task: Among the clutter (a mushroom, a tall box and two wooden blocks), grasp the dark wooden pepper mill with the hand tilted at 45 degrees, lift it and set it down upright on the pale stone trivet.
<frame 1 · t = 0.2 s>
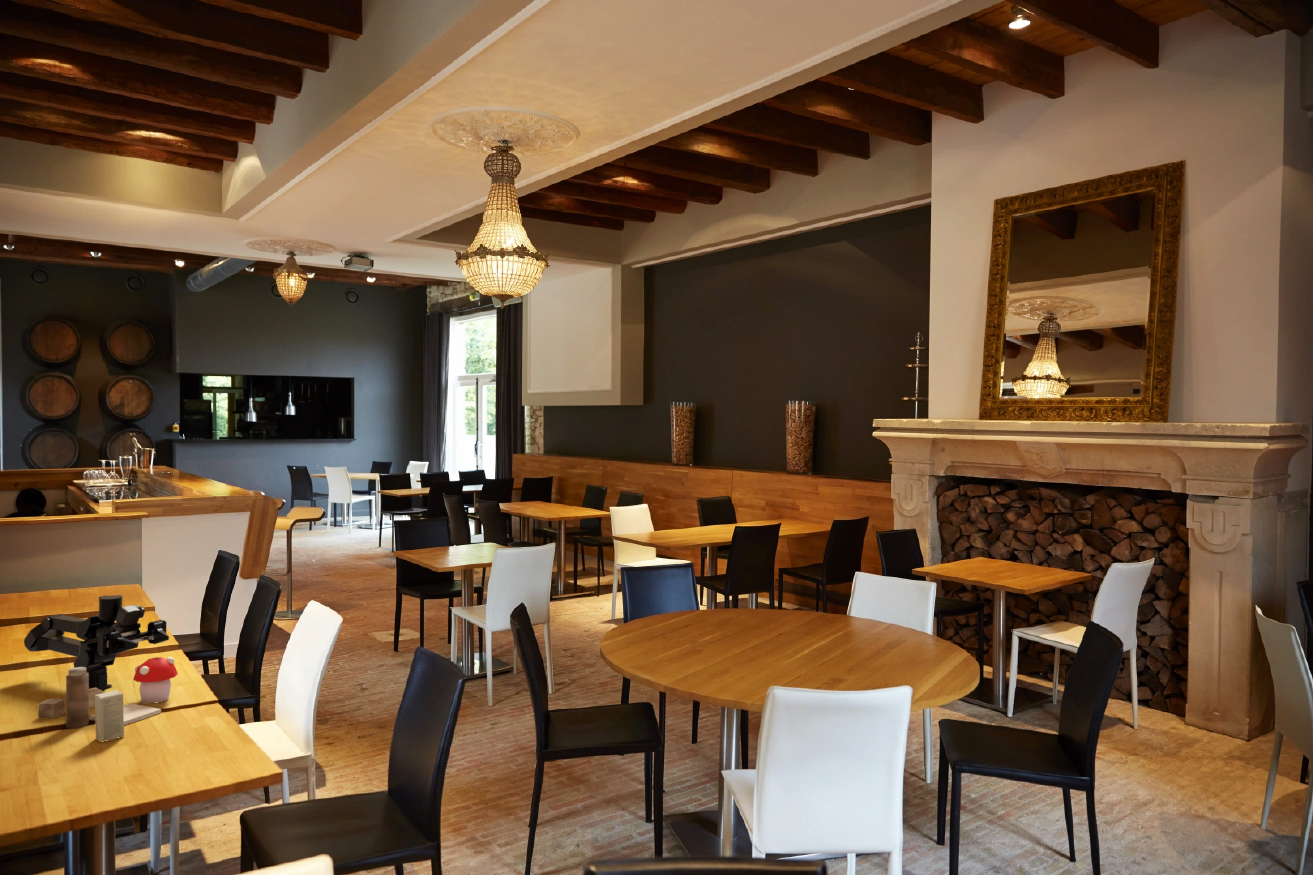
hand: (153, 641, 239), 17 cm above the table, tool horizontal, fingers open, 9 cm apart
mushroom: (155, 700, 240), on the table
box: (109, 739, 211), on the table
oak block: (91, 705, 236), on the table
pepper mill: (77, 725, 220), on the table
walnut block: (51, 716, 227), on the table
trivet: (125, 716, 227), on the table
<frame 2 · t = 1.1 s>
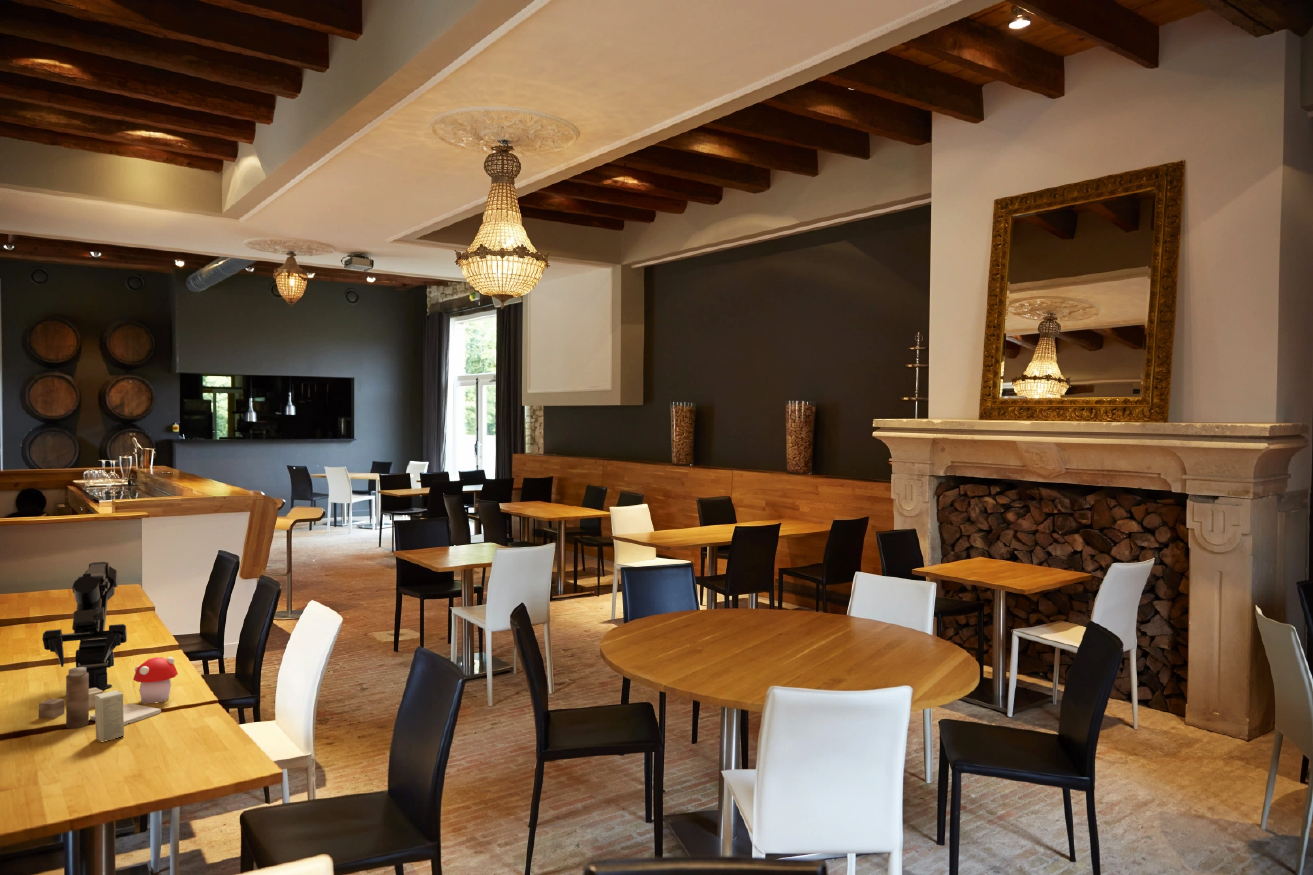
hand: (83, 663, 227), 14 cm above the table, tool tilted 45°, fingers open, 9 cm apart
nothing on the table moved.
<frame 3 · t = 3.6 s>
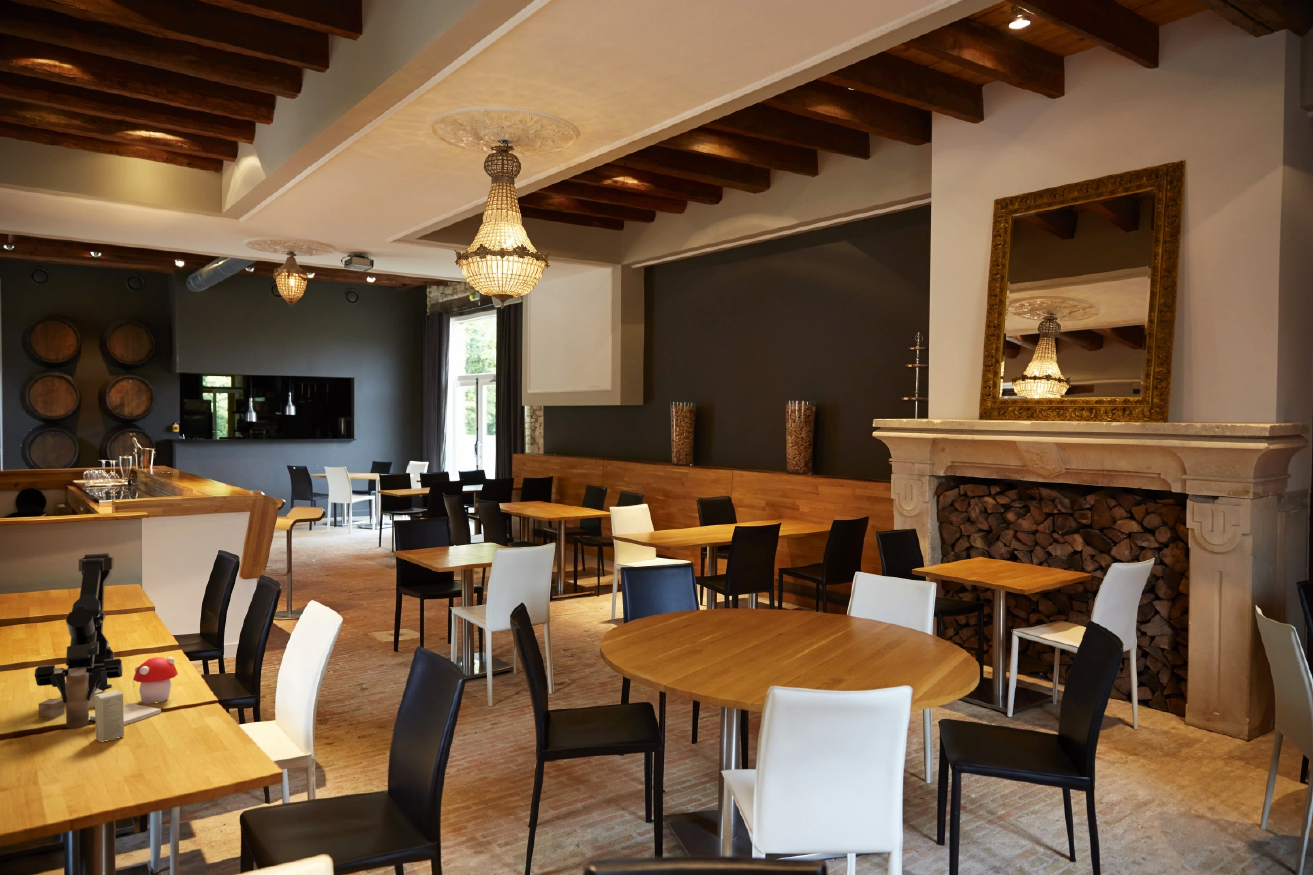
hand: (76, 701, 219), 7 cm above the table, tool tilted 45°, fingers closed on pepper mill, 5 cm apart
pepper mill: (77, 725, 220), on the table, touching gripper
everything else where it was.
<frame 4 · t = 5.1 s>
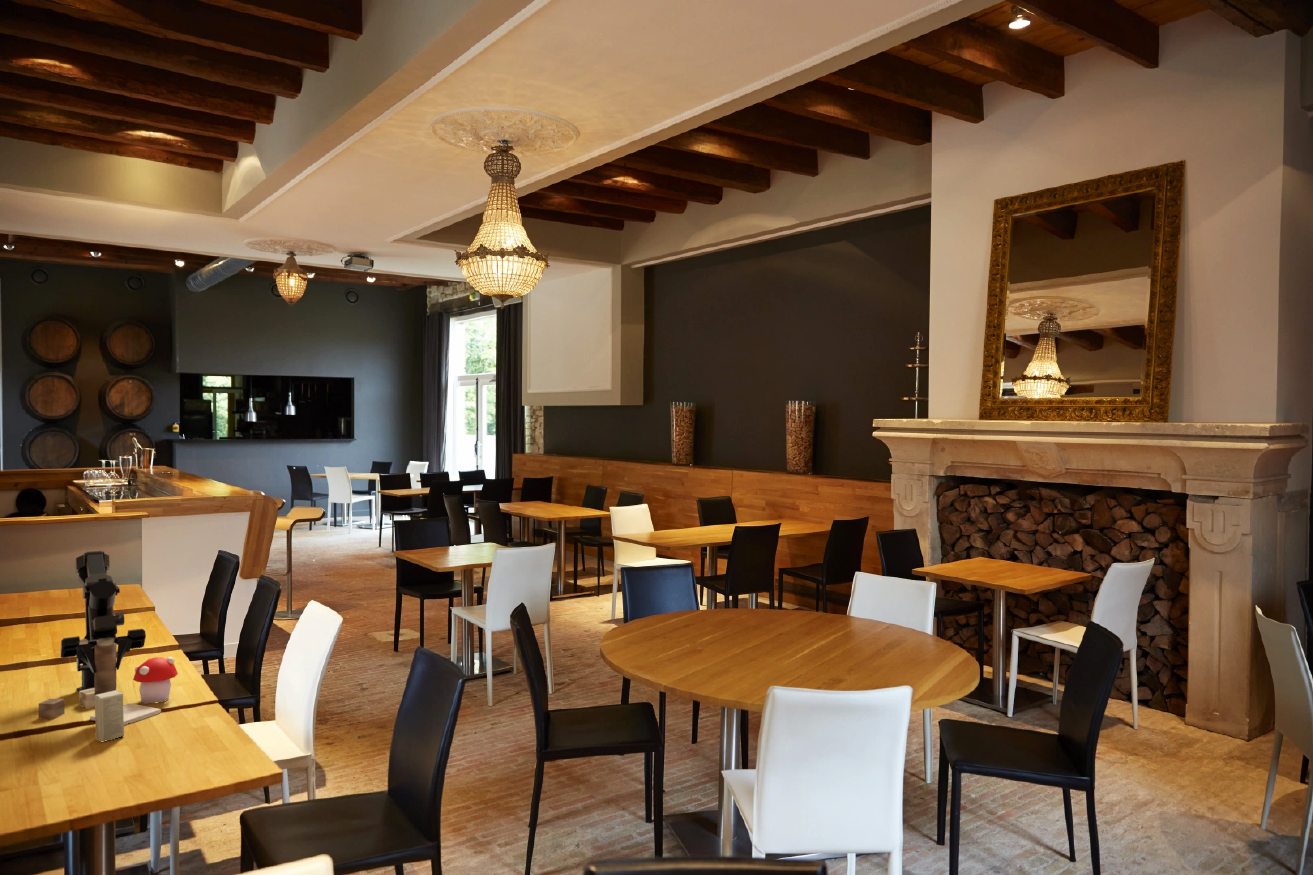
hand: (106, 670, 222), 13 cm above the table, tool tilted 45°, fingers closed on pepper mill, 5 cm apart
pepper mill: (105, 694, 224), point 7 cm above the table, touching gripper
everything else where it was.
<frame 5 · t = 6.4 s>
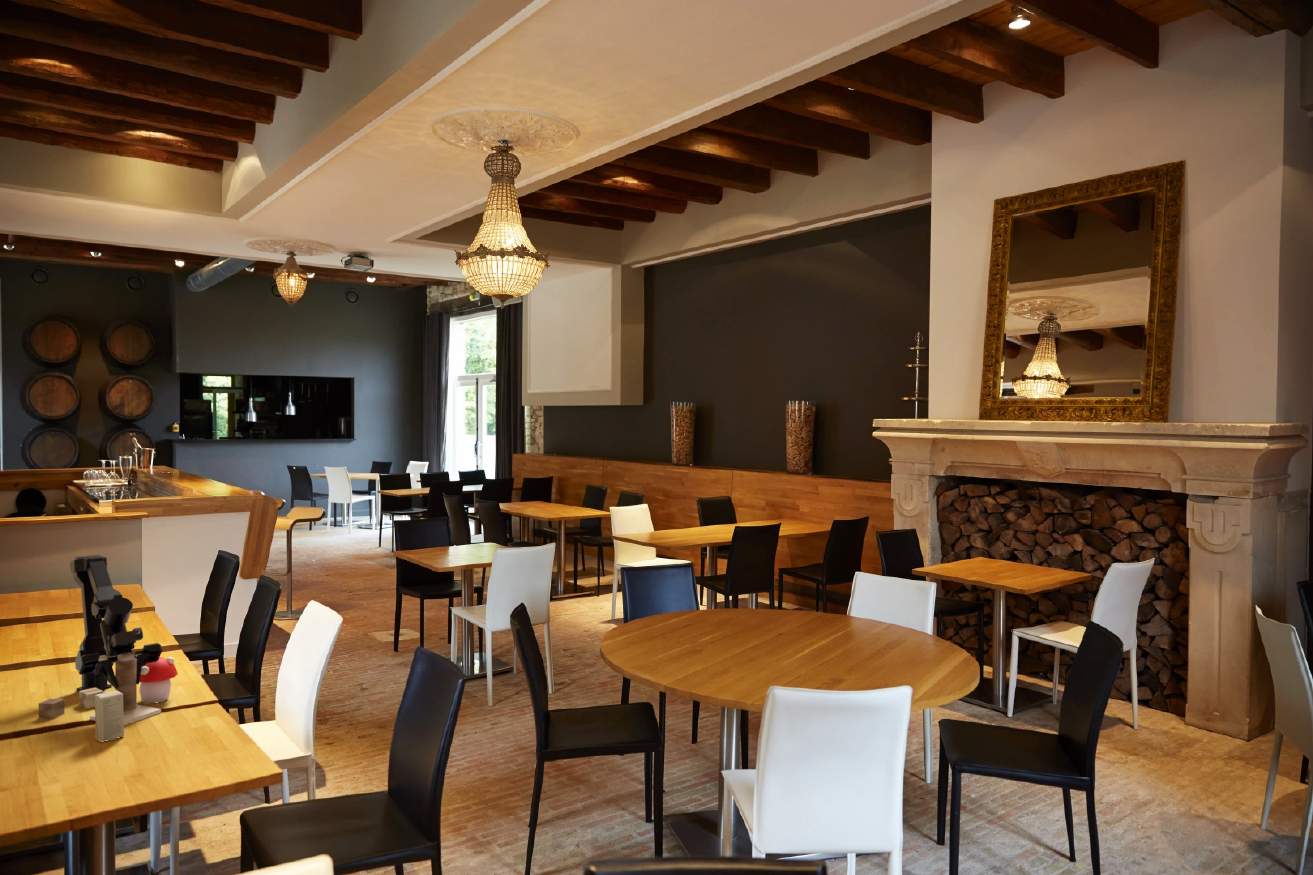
hand: (127, 685, 226), 8 cm above the table, tool tilted 45°, fingers closed on pepper mill, 5 cm apart
pepper mill: (125, 708, 227), point 2 cm above the table, touching gripper
everything else where it was.
when the fingers open (8 cm above the table, at t = 6.7 s): pepper mill stays where it is, resting on trivet.
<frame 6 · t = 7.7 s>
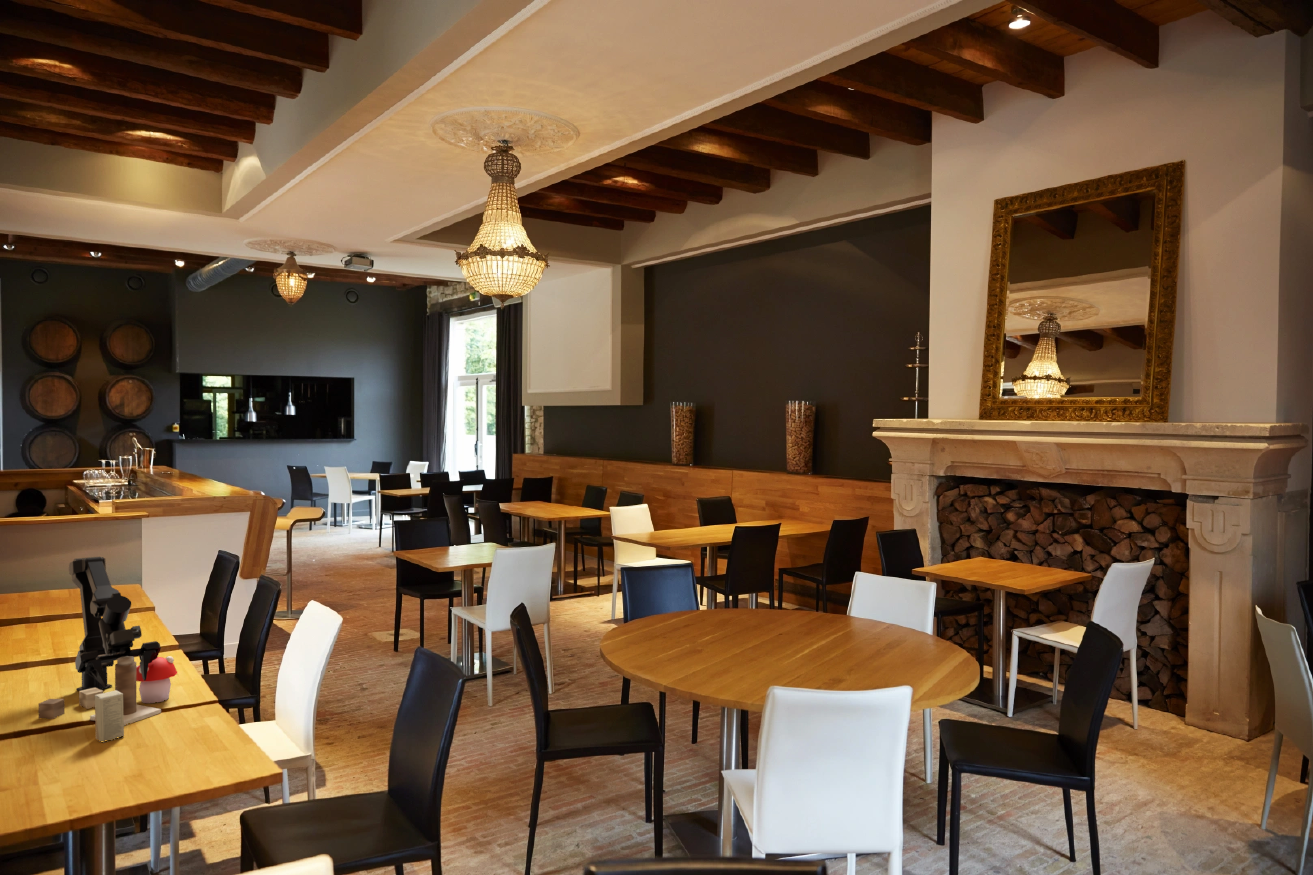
hand: (125, 683, 227), 9 cm above the table, tool tilted 45°, fingers open, 9 cm apart
mushroom: (155, 700, 240), on the table, touching gripper
pepper mill: (125, 712, 227), point 1 cm above the table, touching trivet
everything else where it was.
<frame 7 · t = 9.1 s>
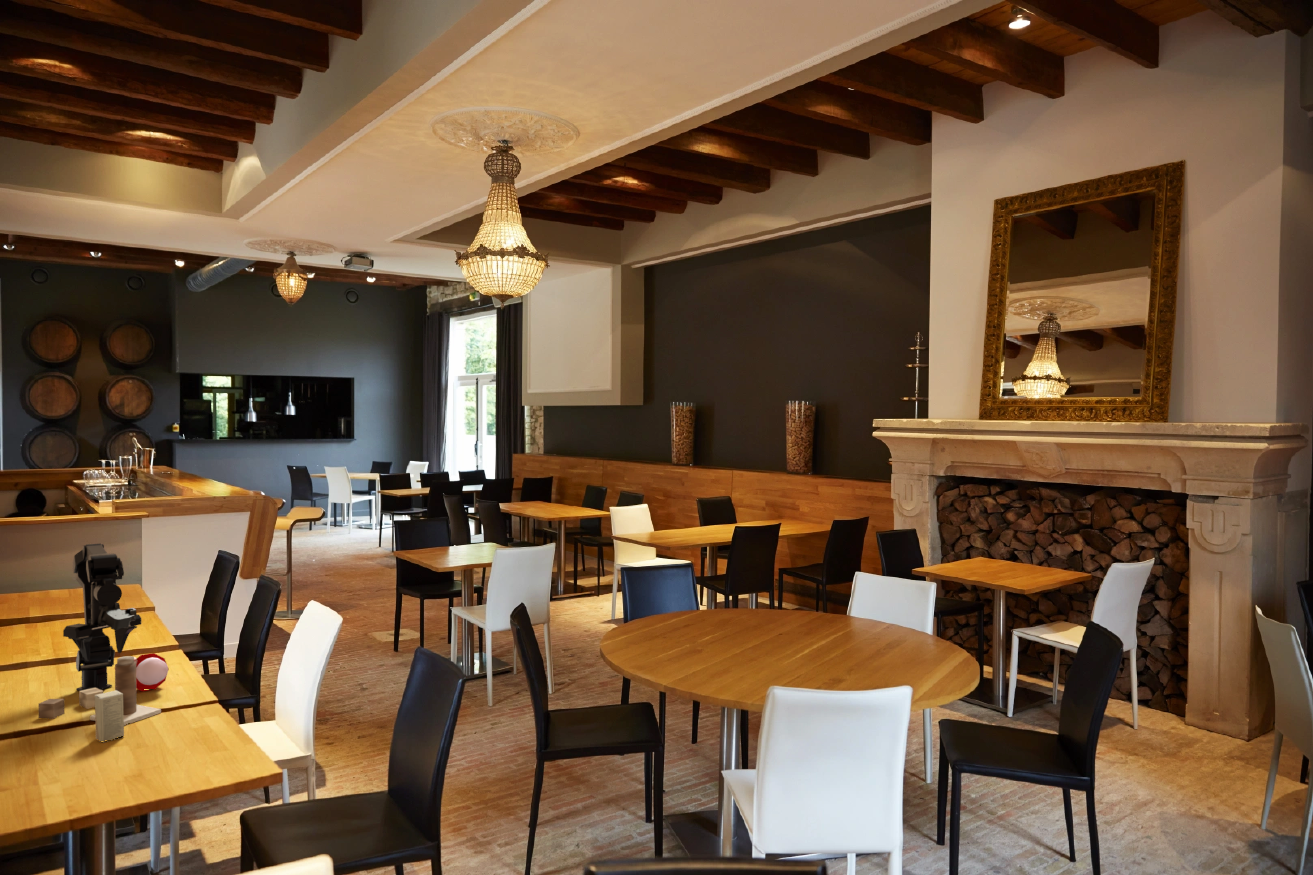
hand: (103, 656, 236), 13 cm above the table, tool pointing down, fingers open, 9 cm apart
mushroom: (155, 672, 245), point 7 cm above the table
everything else where it was.
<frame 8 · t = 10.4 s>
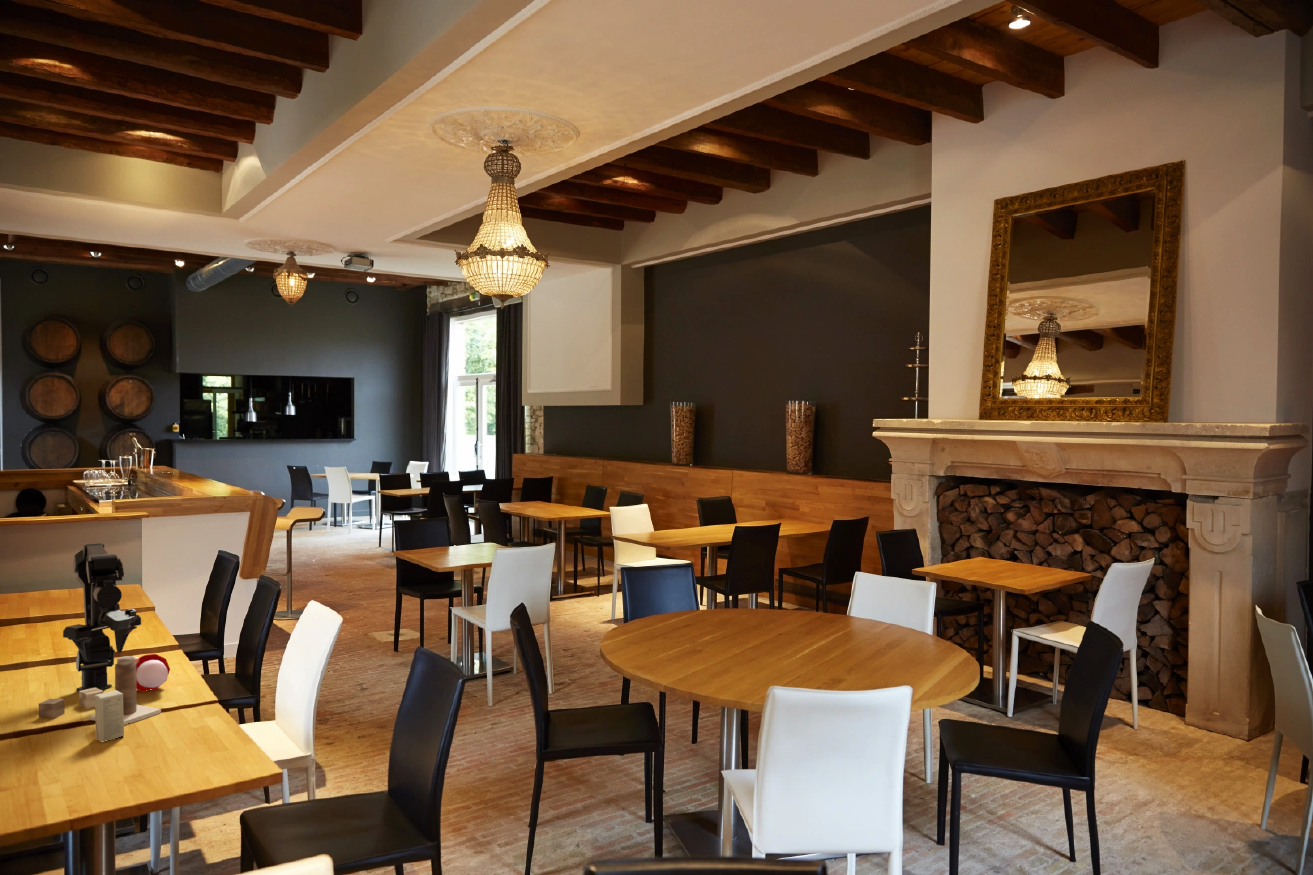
hand: (103, 656, 236), 13 cm above the table, tool pointing down, fingers open, 9 cm apart
mushroom: (155, 676, 244), point 5 cm above the table
everything else where it was.
at the end: pepper mill inside the target area on the trivet (0.0 cm from its centre), point 1.0 cm above the trivet's base; pepper mill tilted 1°; the gripper is holding nothing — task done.
